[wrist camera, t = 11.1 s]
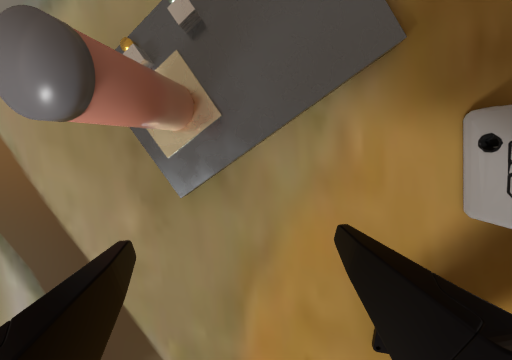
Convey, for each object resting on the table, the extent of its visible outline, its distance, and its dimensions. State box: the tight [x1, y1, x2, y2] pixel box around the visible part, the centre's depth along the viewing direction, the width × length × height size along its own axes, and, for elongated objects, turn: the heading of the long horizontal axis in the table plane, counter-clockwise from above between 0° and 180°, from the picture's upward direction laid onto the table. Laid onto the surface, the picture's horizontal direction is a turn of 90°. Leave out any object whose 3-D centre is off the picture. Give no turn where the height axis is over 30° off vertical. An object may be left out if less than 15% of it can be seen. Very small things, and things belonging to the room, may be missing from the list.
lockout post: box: [0, 5, 194, 131], centre depth 14 cm, size 4×4×11 cm
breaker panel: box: [115, 0, 407, 198], centre depth 18 cm, size 15×24×3 cm, turn 125°
